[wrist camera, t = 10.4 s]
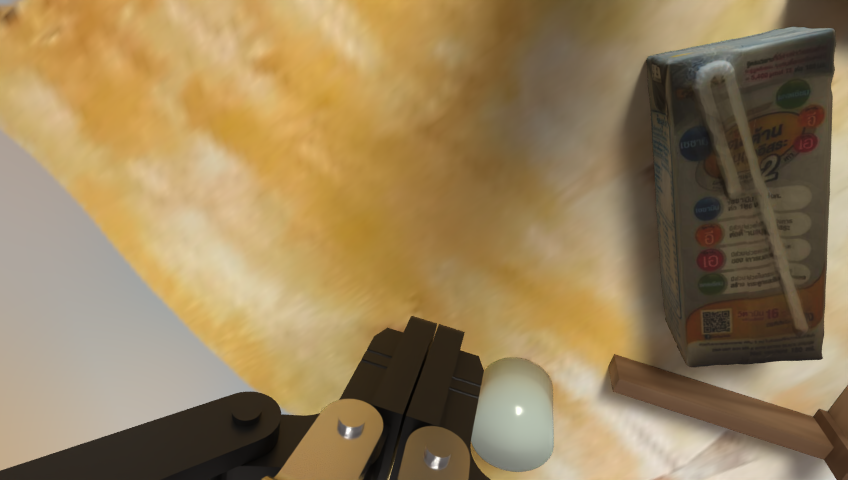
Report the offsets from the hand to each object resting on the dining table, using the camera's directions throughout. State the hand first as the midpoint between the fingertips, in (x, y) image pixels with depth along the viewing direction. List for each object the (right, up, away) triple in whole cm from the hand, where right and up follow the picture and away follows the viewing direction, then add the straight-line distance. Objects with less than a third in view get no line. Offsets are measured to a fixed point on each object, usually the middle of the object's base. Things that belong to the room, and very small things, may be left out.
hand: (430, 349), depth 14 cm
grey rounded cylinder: (+8, -9, +29) cm, 31 cm away
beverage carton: (+19, +6, +20) cm, 28 cm away
